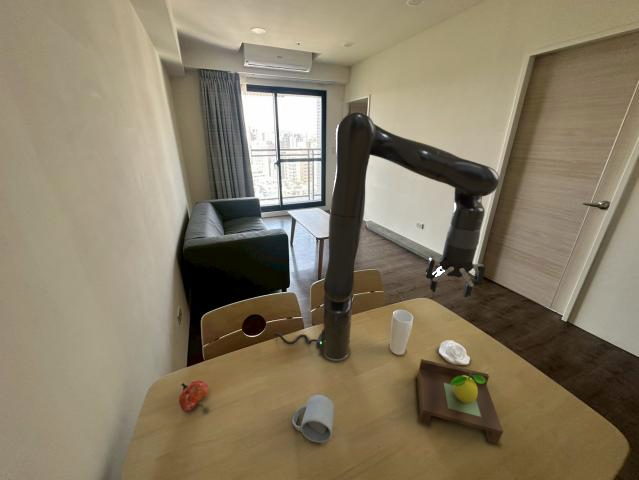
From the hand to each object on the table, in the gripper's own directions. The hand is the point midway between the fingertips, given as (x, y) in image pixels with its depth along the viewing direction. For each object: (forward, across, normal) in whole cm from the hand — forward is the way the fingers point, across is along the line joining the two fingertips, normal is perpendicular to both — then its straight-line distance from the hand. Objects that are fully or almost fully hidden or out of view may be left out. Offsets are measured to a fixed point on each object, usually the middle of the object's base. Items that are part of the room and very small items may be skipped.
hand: (448, 293), depth 73 cm
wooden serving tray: (+28, -4, +14) cm, 32 cm away
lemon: (+23, -5, +15) cm, 28 cm away
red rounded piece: (+28, +65, +34) cm, 79 cm away
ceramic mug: (+28, +32, +30) cm, 52 cm away
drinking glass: (+28, +11, -3) cm, 31 cm away
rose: (+28, -8, -6) cm, 30 cm away
